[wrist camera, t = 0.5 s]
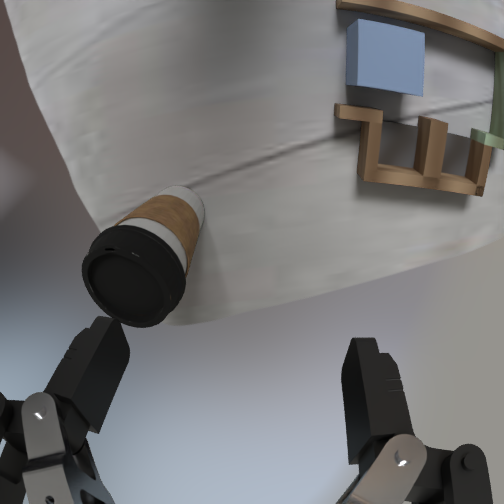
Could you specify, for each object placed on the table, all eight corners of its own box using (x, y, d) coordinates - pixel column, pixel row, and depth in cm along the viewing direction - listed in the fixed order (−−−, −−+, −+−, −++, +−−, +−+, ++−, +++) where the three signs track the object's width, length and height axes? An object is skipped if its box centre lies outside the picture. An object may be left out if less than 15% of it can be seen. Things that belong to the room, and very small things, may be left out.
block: (346, 28, 23) (358, 18, 19) (404, 38, 23) (424, 33, 18) (345, 84, 26) (357, 85, 22) (402, 93, 26) (422, 96, 21)
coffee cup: (213, 172, 32) (165, 242, 19) (218, 244, 36) (185, 339, 23) (139, 176, 33) (61, 241, 20) (151, 243, 37) (94, 328, 24)
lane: (330, 170, 31) (334, 178, 28) (336, -2, 21) (341, -10, 19) (486, 190, 29) (499, 199, 26) (502, 46, 20) (517, 46, 17)
